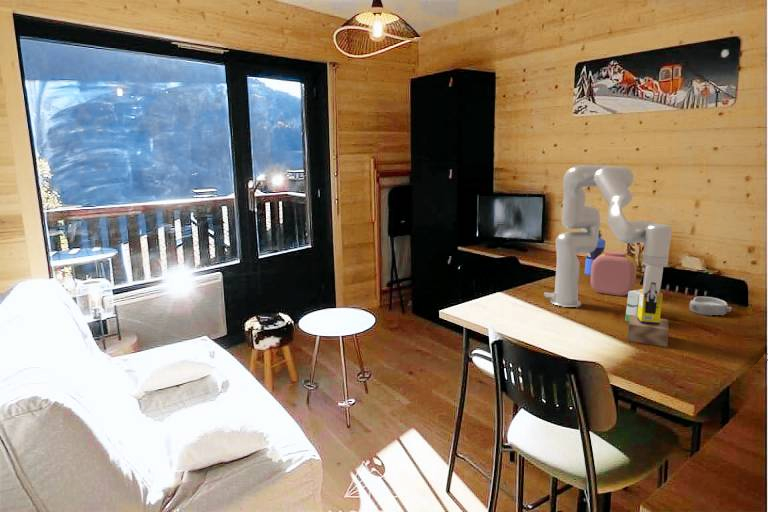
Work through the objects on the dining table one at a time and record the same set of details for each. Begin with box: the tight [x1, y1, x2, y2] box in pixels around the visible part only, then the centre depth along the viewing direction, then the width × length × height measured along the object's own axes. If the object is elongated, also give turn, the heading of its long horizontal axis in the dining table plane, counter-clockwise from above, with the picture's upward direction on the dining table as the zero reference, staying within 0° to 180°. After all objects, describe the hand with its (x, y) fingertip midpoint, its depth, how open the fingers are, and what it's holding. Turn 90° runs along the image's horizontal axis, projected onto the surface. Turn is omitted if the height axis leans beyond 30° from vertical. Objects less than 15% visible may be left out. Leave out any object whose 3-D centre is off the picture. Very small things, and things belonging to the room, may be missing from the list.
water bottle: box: [584, 229, 606, 277], centre depth 266 cm, size 9×9×25 cm
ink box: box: [624, 289, 640, 323], centre depth 188 cm, size 9×5×12 cm, turn 117°
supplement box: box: [637, 288, 664, 325], centre depth 169 cm, size 6×6×11 cm
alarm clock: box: [589, 250, 638, 297], centre depth 228 cm, size 18×11×19 cm, turn 58°
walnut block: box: [626, 315, 670, 348], centre depth 170 cm, size 12×12×6 cm
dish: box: [688, 296, 733, 317], centre depth 201 cm, size 14×14×5 cm
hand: (649, 309), depth 169 cm, fingers open, 8 cm apart
